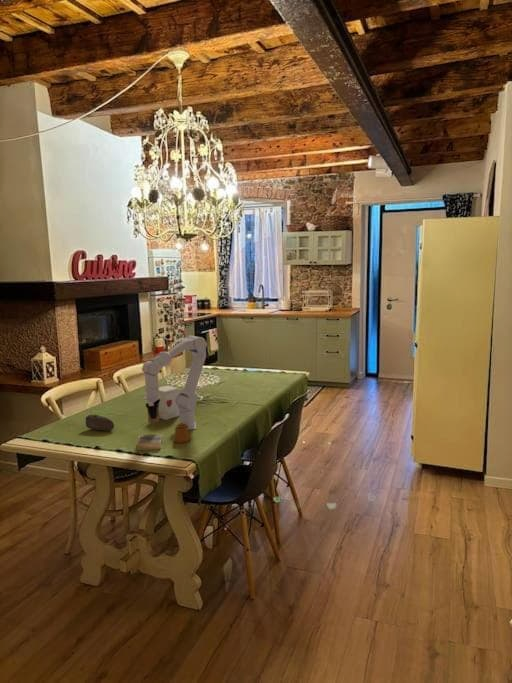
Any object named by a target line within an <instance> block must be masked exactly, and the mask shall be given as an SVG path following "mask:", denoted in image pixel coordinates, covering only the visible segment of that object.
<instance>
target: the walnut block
mask: <svg viewBox="0 0 512 683" xmlns="http://www.w3.org/2000/svg"><path fill="white" fill-rule="evenodd" d="M147 418H148V423H155V422H159V421H160V418H159V406H158V407H157V414H156V419H151V417H150V414H149V411H148V410H147Z"/></svg>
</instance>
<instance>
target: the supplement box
mask: <svg viewBox="0 0 512 683" xmlns="http://www.w3.org/2000/svg"><path fill="white" fill-rule="evenodd" d="M178 395H179V388H178V387H174V386H171V385H165V386H159V396H160V402H159V405H158V406H159V419H162V420H164V421H168V420H170V419H174V418H177V417H179V409H178V406H177V405H176V397H177V396H178Z"/></svg>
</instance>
